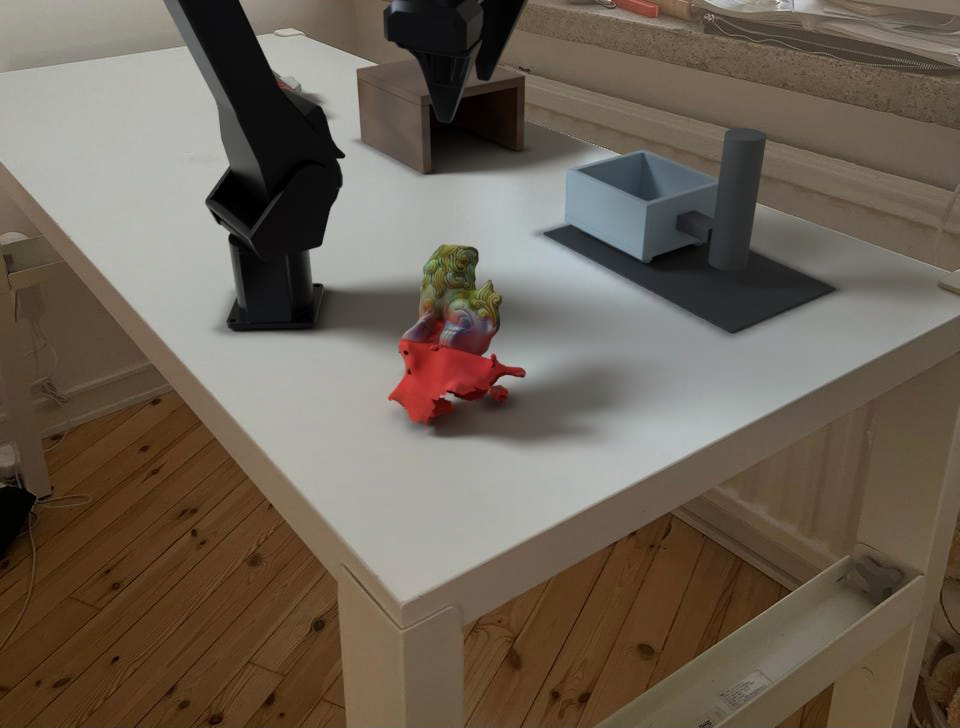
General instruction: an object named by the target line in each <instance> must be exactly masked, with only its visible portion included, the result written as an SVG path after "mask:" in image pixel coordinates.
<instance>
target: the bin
mask: <svg viewBox="0 0 960 728" xmlns="http://www.w3.org/2000/svg"><path fill="white" fill-rule="evenodd" d="M767 137H768V136H767V134H766V133H765V132H764V131H761V130H759V129H755V128H748V127H747V128H746V127H735V128H730V129H728V130H726V131H725V132H724V139H723V145H722V152H721V154H722V155H721V160H720V168H719V176H718V177H716V176H713V175H711V174H708V173H706V172H703V171H700V170H698V169H695V168H693V167H691V166H687V165H685V164H683V163H680V162H677V161H675V160H672V159H670V158H667V157H665V156H662V155H659V154H658V153H654V152H652V151H649V150H647V149H639V150H636V151H631V152H628V153H623V154H620V155H616V156H612V157H609V158H604V159H601V160H597V161H593V162H589V163H586V164H582V165H577V166H574V167H570V168H567V169H566V179H565V199H564V201H565V203H564V217H563V218H564V219H563V221H564V222H565V223H567V224H568V225H570V224H571V225H573V226H575V227H577V228H579V229H580V230H581V231H582V232H584V233H586V234H588V235H590V236H592V237H594V238H596V239H598V240H600V241H602V242H604V243H606V244H608V245H610V246H612V247H613V248H615V249H617V250H619V251H621V252H623V253H625V254H627V255H629V256H631V257H633V258H635V259H637V260H639V261H641V262H643V263H646V264H647V263H650V262H651V261H652V257H654V256H657V255H660V254H663V253H666V252H669V251H672V250H674V249H677V248H680V247H683V246H686V245H689V244H693V245H695V246H700V245H702V244H703V242H705V243H709V242H711V244H710V251H709V259H708V262H709V264H710V265H711V266H713V267H714V268H717V269H720V270H725V271H737V270H741V269H744V268H745V267H746V266H747V260H748V254H749V250H750V247H751V240H752V233H753V227H754V222H755V215H756V210H757V209H756V207H757V202H758V195H759V189H760V184H761V183H760V182H761V175H762V169H763V163H764V156H765V150H766V145H767V144H766V143H767Z"/></svg>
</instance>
